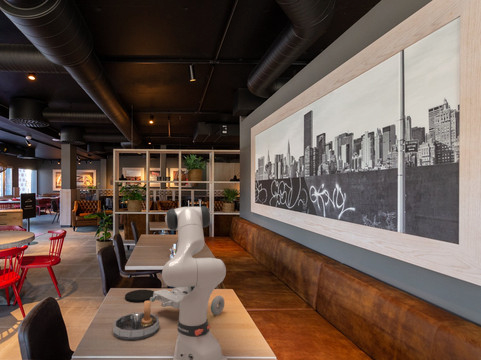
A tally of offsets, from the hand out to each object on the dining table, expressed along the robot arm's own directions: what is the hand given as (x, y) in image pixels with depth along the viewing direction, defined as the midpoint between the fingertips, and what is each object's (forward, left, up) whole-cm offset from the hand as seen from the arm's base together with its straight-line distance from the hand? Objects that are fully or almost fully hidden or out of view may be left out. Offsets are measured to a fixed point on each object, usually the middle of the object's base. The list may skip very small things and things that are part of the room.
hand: (156, 302), depth 156 cm
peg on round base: (-1, +6, -8) cm, 10 cm away
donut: (-15, -28, -10) cm, 33 cm away
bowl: (0, +11, -10) cm, 15 cm away
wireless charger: (+35, -14, -10) cm, 39 cm away
